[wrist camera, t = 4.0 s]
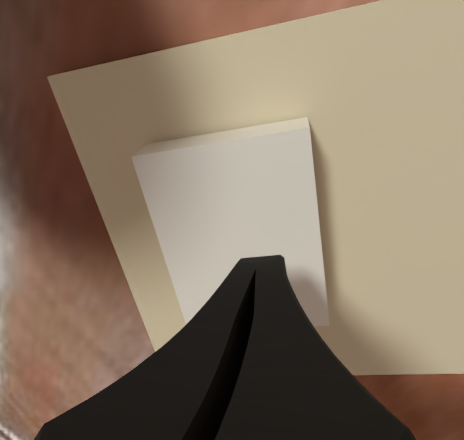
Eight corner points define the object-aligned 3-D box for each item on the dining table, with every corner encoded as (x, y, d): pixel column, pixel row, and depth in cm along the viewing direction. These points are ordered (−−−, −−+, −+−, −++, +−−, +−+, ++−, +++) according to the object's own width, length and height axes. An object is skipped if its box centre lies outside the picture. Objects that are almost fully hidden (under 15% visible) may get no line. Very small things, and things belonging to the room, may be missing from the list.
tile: (309, 127, 11) (130, 156, 12) (329, 325, 14) (188, 331, 16) (307, 115, 12) (148, 143, 14) (325, 297, 16) (197, 305, 17)
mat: (623, -54, 10) (642, -60, 9) (528, 361, 17) (536, 372, 16) (56, 75, 14) (46, 76, 13) (168, 369, 20) (165, 378, 20)
